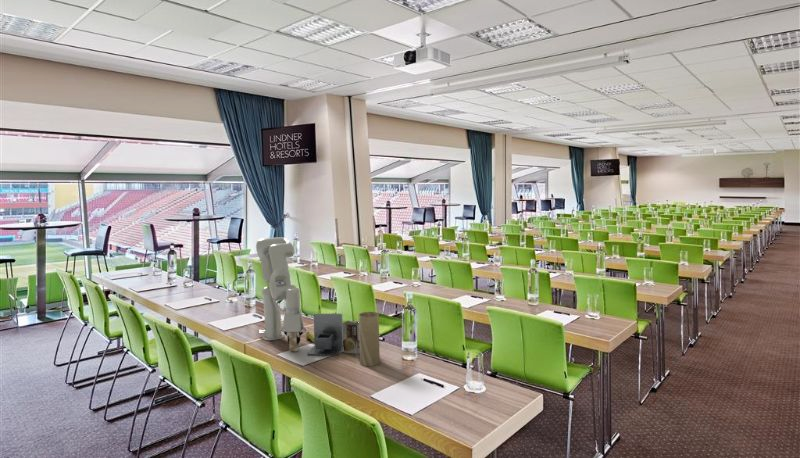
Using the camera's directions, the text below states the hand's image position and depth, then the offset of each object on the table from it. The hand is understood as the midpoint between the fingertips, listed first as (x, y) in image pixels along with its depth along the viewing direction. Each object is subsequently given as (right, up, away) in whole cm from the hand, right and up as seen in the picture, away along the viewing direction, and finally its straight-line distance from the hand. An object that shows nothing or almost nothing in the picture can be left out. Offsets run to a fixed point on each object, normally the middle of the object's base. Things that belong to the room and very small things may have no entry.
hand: (294, 343), depth 262 cm
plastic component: (+13, -3, +23) cm, 26 cm away
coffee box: (+32, -5, -1) cm, 33 cm away
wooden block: (0, -4, 0) cm, 4 cm away
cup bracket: (+17, -4, 0) cm, 18 cm away
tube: (+43, -6, -18) cm, 47 cm away
